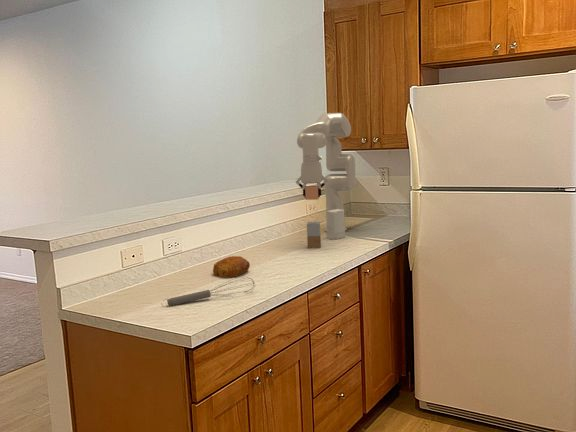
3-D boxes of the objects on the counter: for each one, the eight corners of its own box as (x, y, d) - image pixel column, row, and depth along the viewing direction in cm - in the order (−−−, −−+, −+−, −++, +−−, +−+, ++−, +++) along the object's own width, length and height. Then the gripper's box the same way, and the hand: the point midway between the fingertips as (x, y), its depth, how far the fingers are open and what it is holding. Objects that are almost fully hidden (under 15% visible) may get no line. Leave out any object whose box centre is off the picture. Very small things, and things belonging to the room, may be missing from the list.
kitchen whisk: (160, 305, 199) (158, 287, 198) (252, 290, 212) (251, 274, 211) (163, 310, 193) (162, 291, 192) (258, 294, 206) (257, 277, 205)
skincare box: (337, 236, 306) (336, 208, 303) (345, 237, 301) (345, 209, 299) (326, 238, 300) (325, 210, 298) (334, 240, 296) (333, 211, 294)
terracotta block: (306, 198, 281) (306, 186, 280) (318, 198, 280) (318, 185, 279) (305, 199, 275) (305, 187, 274) (318, 199, 274) (317, 186, 273)
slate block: (308, 233, 284) (307, 221, 283) (320, 233, 283) (319, 221, 282) (307, 236, 278) (306, 224, 277) (319, 235, 277) (319, 223, 276)
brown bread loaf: (255, 275, 240) (256, 256, 240) (233, 279, 227) (234, 259, 227) (227, 271, 248) (228, 253, 247) (204, 275, 234) (205, 255, 234)
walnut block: (308, 245, 285) (308, 233, 284) (320, 245, 284) (320, 233, 283) (307, 248, 279) (307, 236, 278) (320, 248, 278) (319, 235, 277)
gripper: (329, 158, 278) (330, 195, 280) (293, 159, 280) (295, 196, 282) (328, 159, 270) (329, 197, 273) (292, 160, 272) (293, 198, 275)
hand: (312, 196), depth 277 cm, fingers closed on terracotta block, 6 cm apart
